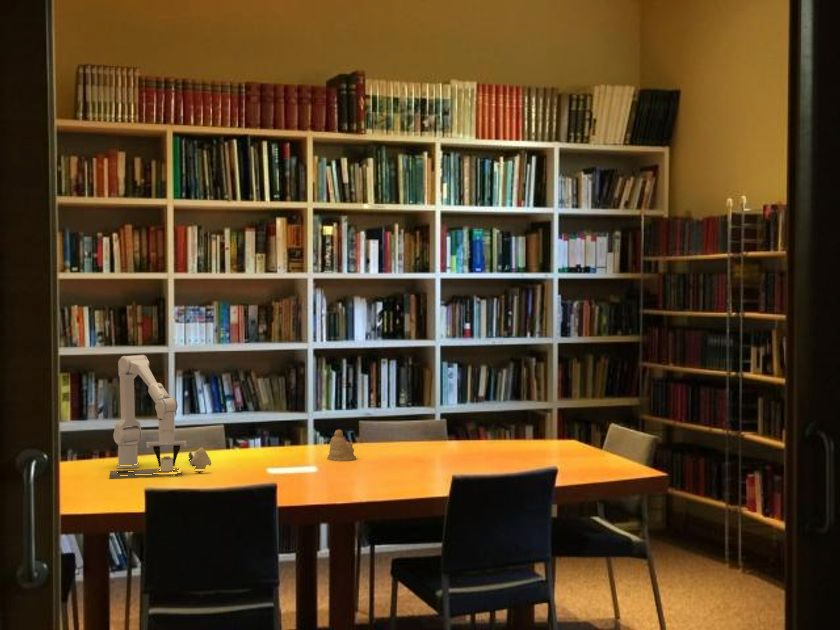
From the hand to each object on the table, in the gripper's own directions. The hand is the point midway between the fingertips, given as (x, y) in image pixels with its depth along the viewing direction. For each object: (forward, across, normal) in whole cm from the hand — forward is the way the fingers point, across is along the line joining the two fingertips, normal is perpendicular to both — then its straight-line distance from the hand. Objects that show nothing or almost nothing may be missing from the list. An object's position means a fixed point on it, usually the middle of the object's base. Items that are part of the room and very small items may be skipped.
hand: (166, 466), depth 401 cm
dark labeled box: (+4, +10, +20) cm, 23 cm away
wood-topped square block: (+3, 0, 0) cm, 3 cm away
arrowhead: (+3, +12, 0) cm, 13 cm away
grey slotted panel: (+3, -8, 0) cm, 8 cm away
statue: (+4, +70, +19) cm, 72 cm away
